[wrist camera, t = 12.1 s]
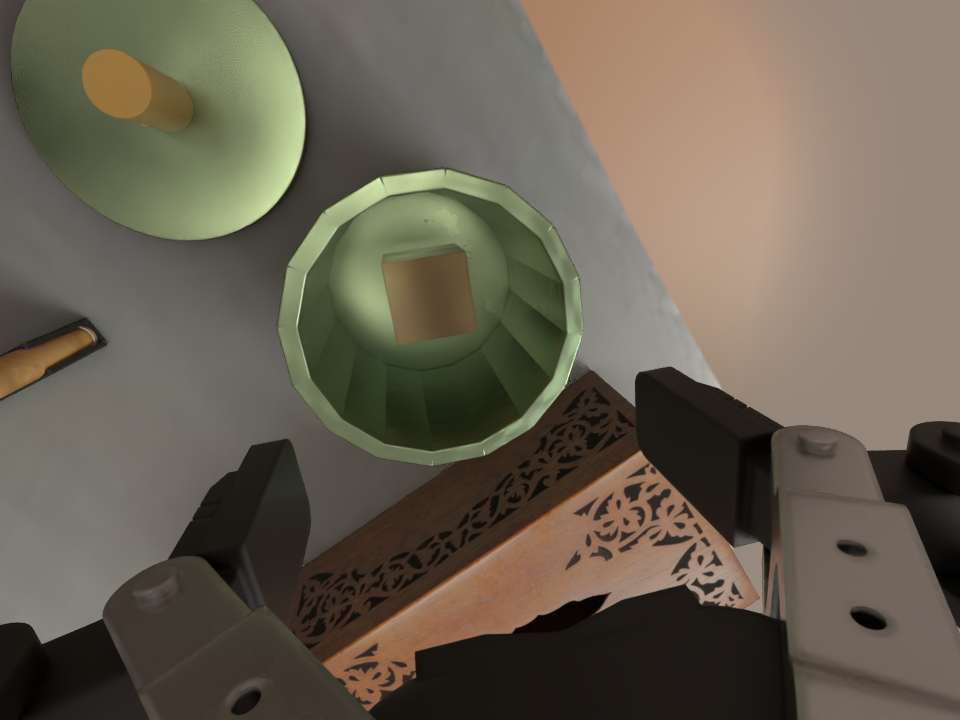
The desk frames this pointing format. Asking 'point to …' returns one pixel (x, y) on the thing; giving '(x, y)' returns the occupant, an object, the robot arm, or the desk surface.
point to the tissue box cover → (512, 548)
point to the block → (429, 293)
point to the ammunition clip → (47, 355)
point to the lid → (162, 109)
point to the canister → (438, 362)
